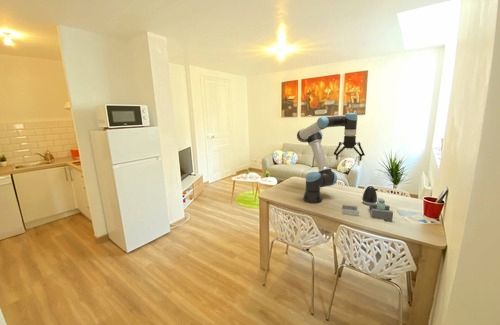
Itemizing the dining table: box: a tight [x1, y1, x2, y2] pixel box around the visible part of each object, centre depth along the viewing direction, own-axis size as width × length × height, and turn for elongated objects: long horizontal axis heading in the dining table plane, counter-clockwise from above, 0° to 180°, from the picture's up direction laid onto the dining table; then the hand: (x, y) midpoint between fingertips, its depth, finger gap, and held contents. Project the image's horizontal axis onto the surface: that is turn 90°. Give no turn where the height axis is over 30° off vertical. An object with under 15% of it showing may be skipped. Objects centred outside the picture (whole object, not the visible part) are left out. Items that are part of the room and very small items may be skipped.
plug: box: [376, 197, 386, 210], centre depth 143 cm, size 4×5×12 cm
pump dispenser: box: [361, 185, 379, 206], centre depth 161 cm, size 10×10×15 cm
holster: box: [341, 204, 360, 217], centre depth 150 cm, size 10×10×4 cm
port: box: [368, 203, 394, 223], centre depth 144 cm, size 12×12×7 cm
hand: (348, 164), depth 150 cm, fingers open, 13 cm apart
